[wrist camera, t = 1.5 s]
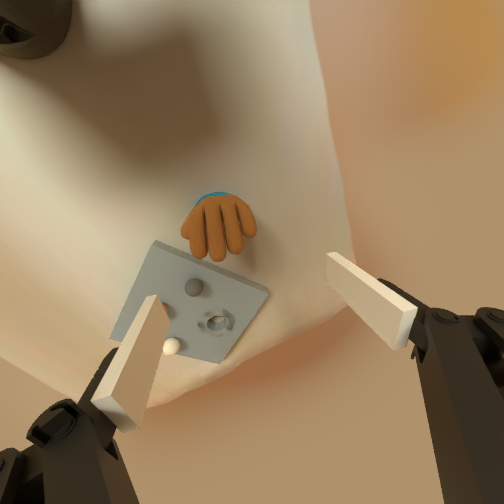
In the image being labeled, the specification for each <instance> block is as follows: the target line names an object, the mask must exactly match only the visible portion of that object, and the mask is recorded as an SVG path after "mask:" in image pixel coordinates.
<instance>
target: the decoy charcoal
mask: <svg viewBox="0 0 504 504" xmlns="http://www.w3.org/2000/svg"><path fill="white" fill-rule="evenodd" d="M203 288H204V286H203V283H202V281H201V280H199V279H196V278H193V279H190V280H188V281H187V282H186V284H185V292H186V293H187V295H189V296H191V297H196V296H198V295H200V294H201V293H202V291H203Z"/></svg>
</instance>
